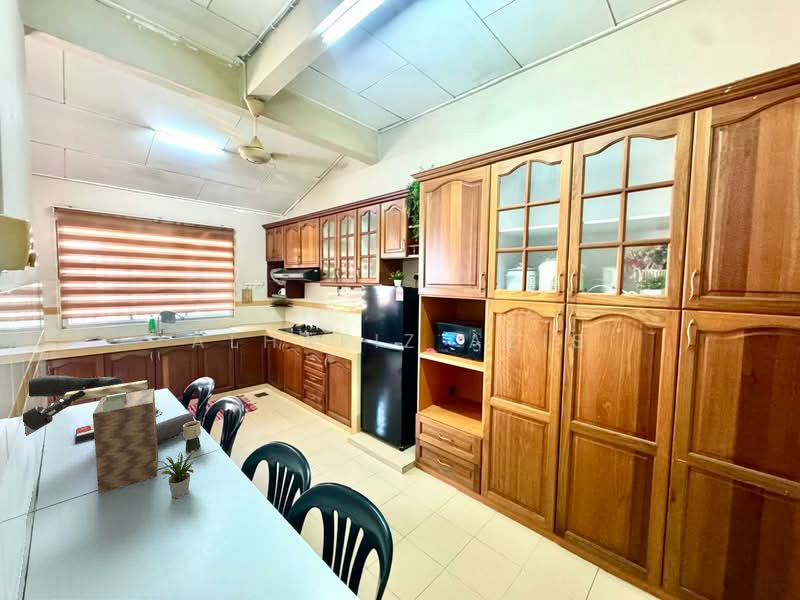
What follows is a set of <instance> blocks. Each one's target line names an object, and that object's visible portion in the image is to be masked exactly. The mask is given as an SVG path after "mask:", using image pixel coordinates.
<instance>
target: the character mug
mask: <svg viewBox="0 0 800 600" xmlns="http://www.w3.org/2000/svg"><path fill="white" fill-rule="evenodd" d="M201 426H202V425H201V421H200V420H194V421H192V422H188V423H186V424H184V425H183V432H182V435H183V439H184V440H186V441H185V452H186V453H187V452H190V453H191V452H192V451H194V450H195V449H196V450H195V451H197V450H199V449H200V448H202V447H201V440H200V438H199V436H200V435H201V434H202V431H201ZM195 451H194V452H195Z"/></svg>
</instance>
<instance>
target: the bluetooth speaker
mask: <svg viewBox="0 0 800 600" xmlns="http://www.w3.org/2000/svg"><path fill="white" fill-rule="evenodd" d="M192 421H195V418H194V415H193V414H192V413H191V412H188V413H184V414H181V415H178V416H175V417H172V418H169V419H166V420H164V421H160V422H158V423H156V428H157V445H159V444H162V443H165V442H168V441H170V440H172V439H175V438H177V437H179V436H180V435H181V433H182V434H183V425H184V424H186V423H188V422H192Z"/></svg>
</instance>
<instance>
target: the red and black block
mask: <svg viewBox="0 0 800 600" xmlns="http://www.w3.org/2000/svg"><path fill="white" fill-rule="evenodd" d="M91 440H95V439H94V426H93V423H92V424H89V425H85V426H80V427H77V428H76V429H75V444H78V443H83V442H88V441H91Z"/></svg>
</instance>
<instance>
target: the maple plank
mask: <svg viewBox="0 0 800 600" xmlns="http://www.w3.org/2000/svg"><path fill="white" fill-rule="evenodd" d="M143 390H148V380H147V379H145V380H140V381H139V380H138V381H134V382H133V381H132V382H126V383H123V384H119V385H112V386H105V387H99V388H92V389H86V390H82V391H84V392H85V393H86V394H85V395H84V396H83V397H81V398H79V399H77V400H76V401H75V402H77V401H82V400H83V401H84V400H88V399H96V398H102V397H103V396H109V395H115V394H121V393H131V392H137V391H143ZM79 391H81V390H79ZM79 391H73V392H67V393H66V394H65V396H64V397H65V399H66V398H67V397H70V396H72V395H74V394H76V393H77V392H79ZM70 398H71V397H70Z"/></svg>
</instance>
